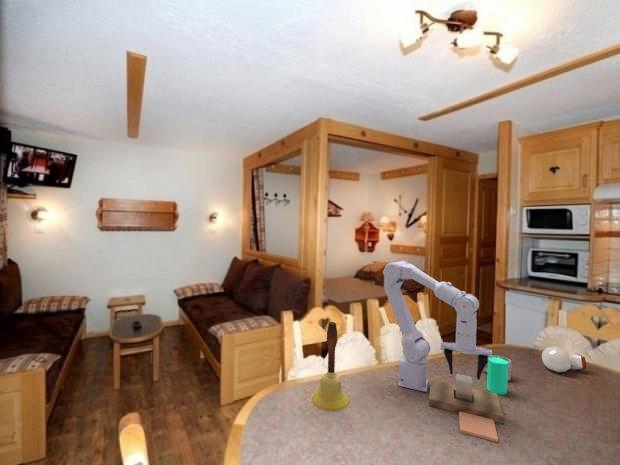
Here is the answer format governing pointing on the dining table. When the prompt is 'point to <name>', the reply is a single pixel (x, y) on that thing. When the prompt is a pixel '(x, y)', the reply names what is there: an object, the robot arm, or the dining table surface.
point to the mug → (508, 366)
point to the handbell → (331, 379)
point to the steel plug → (464, 388)
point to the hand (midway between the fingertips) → (464, 375)
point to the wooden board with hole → (481, 406)
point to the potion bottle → (562, 360)
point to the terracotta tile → (477, 426)
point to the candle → (497, 375)
